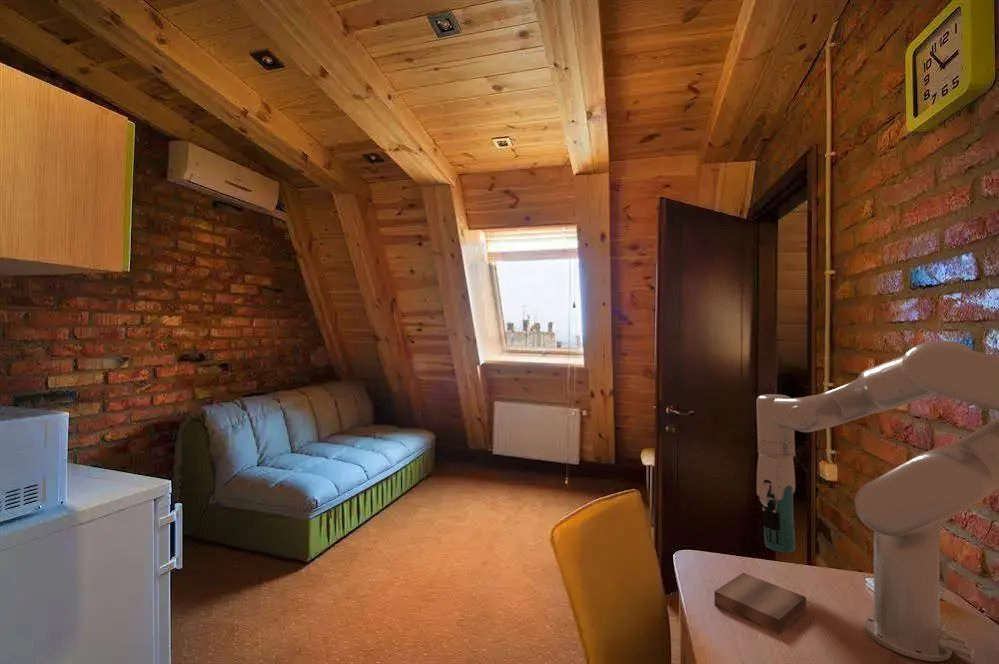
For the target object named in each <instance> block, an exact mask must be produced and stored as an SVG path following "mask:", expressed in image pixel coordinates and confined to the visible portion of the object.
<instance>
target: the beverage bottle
mask: <svg viewBox="0 0 999 664" xmlns="http://www.w3.org/2000/svg"><path fill="white" fill-rule="evenodd" d="M769 497H771V498H774V497H775V495H771V494H770V495H769ZM769 502H771V503H772V505H774V501H770V500H769ZM794 511H795V510H794V493H793V488H792V486H790V485H789V486H787V487H786V488H785V490H784V495H783V499H781V500H779V504H778V511H777V512H778V513H779V518H780V530H779V531H776V530H772V529H769V528H765V527H764V523H763V524H762V526H763V527H762V528H763V540H764V546H765V547H766V548H768V549H770V550H772V551H774V552H779V553H785V554H786V553H793V552H795V550H796V532H795V531H796V528H795V525H796V524H795V523H796V522H795V515H794ZM762 512H764V510H763V509H762Z"/></svg>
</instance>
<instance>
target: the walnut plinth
mask: <svg viewBox="0 0 999 664" xmlns="http://www.w3.org/2000/svg"><path fill="white" fill-rule="evenodd" d="M714 606H716V607H718V608H720V609H722V610H724V611H726V612H729V613H731V614H734V615H735V616H737V617H740V618H742V619H744V620H746V621H748V622H750V623H752V624H754V625H757V626H759V627H761V628H763V629H765V630H767V631H770V632H771V633H773V634H776V635H778V636H781V634H782V633H784V631H785V630H787V629H788V628H789V627H790V626H791V625H792V624H793V623H794V622H795V621H797V620H798V619H799V618H800V617H801V616H802V615H803V614H805V613H806V611H807V597H806V596H804V595H801V594H799V593H797V592H794V591H791V590H790V589H786V588H784V587H782V586H779V585H776V584H773V583H771V582H768V581H766V580H764V579H761V578H758V577H756V576H753V575H751V574H747V573H745V572H742V573H740V574H739V575H737V576H736V577H734V578H732V579H731V580H730V581H728V582H727V583H725V584H723V585H722V586H720V587H719V588H717V589H716V590H714Z"/></svg>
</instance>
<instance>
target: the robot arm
mask: <svg viewBox="0 0 999 664" xmlns="http://www.w3.org/2000/svg"><path fill="white" fill-rule="evenodd" d="M936 395H939V396H943V397H946V398H948V399H949V398H950V399H954V400H957V401H960V402H964V403H968V404H972V405H975V406H979V407H982V408H985V409H989V410H991V411H997V412H999V355H995V354H994V355H993V354H990V353H985V352H982V351H976V350H973V349H972V348H970V347H969V346H967V345H965V344H964V343H961V342H957V341H953V340H940V341H939V340H937V341H936V340H935V341H927V342H922V343H920V344H916V345H914V346H913V347H911V348H910V349H909V350H907V352H906V353H905V354H903V355H901V356H899V357H897V358H896V357H895V358H894V359H891V360H889V361H886V362H883V363H880V364H877V365H875V366H873V367H870V368H867V369H865V370H863V371H862V372H861V373H860V374H859V376H858V378H856V379H855V380H853V381H850V382H849V383H846V384H844V385H842V386H839V387H836V388H834V389H831V390H828V391H826V392H822V393H820V394H814V395H807V396H803V397H793V398H792V397H790V396H788V395H786V394H785V395H784V394H775V393H773V394H770V393H769V394H760V395H759V396H758V397H756V403H755V404H756V405H755V406H756V428H757V430H756V431H757V432H756V433H757V453H758V459H757V467H756V494H757V496H758V497H759V501H760V503H761V506H762V511H763V510H764V511H763V524H764V525H763V526H764V527H765V528H769V529H772V530H776V531H779V530H780V518H779V513H778V512H777V511H778V504H779V500H781V499H783V495H784V490H785V488H786V487H787V486H789V485H790V486H792V488H793V494H794V493H795V492H796V475H795V471H796V470H795V464H794V457H795V456H796V447H795V446H796V443H795V442H796V441H795V439H796V438H795V431H797V432H801V433H811V432H816V431H820V430H824V429H829V428H833V427H836V426H839V425H842V424H845V423H849V422H851V421H854V420H855V421H856V420H858V419H860V418H863V417H866V416H867V417H868V416H870V415H873V414H876V413H881V412H882V413H883V412H887V411H889V410H893V409H894V410H895V409H896V408H900V407H902V406H906V405H909V404H912V403H915V402H918V401H922V400H924V399H927V398H931V397H933V396H936ZM998 488H999V417H997V418H995V419H994V420H992V421H990V422H989V423H986V424H984V425H983V426H981V427H979V429H976V430H974V431H973V432H971V433H970V434H968V435H966V436H964V437H962V438H959V439H958V440H956V441H954V442H951V443H948V444H945V445H943V446H938V447H934V448H933V449H929V450H928V451H925V452H921V454H918V455H916V456H914V457H913V458H911V459H910V460H907V461H906V462H903V463H902V464H900V465H898V466H897V467H895V468H893V469H891V470H889V471H888V472H885V473H884V474H882V475H881V476H878V477H876V478H875V479H874V480H873V479H872V480H871V481H869V482H868V483H865V484H864V485H862V487H860V488H859V490H858V491H857V493H856V495H855V498H854V508H855V512H856V514H857V516H858V518H859V519H860V521H861V522H862V523H863V524H864V525H865V526H866V527H868V529H870V530H872V531H873V532H874V535H873V583H874V584H873V587H874V588H873V593H874V594H873V596H874V597H873V601H874V603H873V605H874V613H873V614H874V615H870V616H867V617H866V618H865V620H864V630H865V631H866V633H867V634H868V636H870V638H871V639H873V640H874V641H875V642H877V643H878V644H880V645H881V646H883V647H885V648H887V649H889V650H890V651H893V652H895V653H896V654H897V653H898V654H899V655H902V656H905V657H909V658H912V659H916V660H921V661H926V662H935V663H937V662H944V661H947V660H949V659H950V658H951V657H952V654H953V653H952V652H954V653H957V654H958V655H960V656H963V657H965V658H967V659H969V660H973V659H974V647H972V646H970V645H967V644H968V643H967V639H964V638H961V637H958V636H955V635H952V634H950V633H949V632H948V631H946V623H944V622H942V621H941V618H940V617H941V616H940V615H941V608H940V607H941V606H940V604H941V603H940V602H941V601H940V597H941V596H940V565H941V564H940V563H941V562H940V558H941V557H940V551H941V550H940V547H941V546H940V545H941V544H940V543H941V532H942V525H943V520H945V519H947V518H949V517H952V516H954V515H955V514H959V513H960V512H963V511H965V510H966V509H968V508H970V507H973V506H974V505H976V504H978V503H979V502H980V501H982V500H984V499H986V498H987V497H988V496H989V495H991V494H992V493H993V492H994V491H995V490H997V489H998ZM770 494H771V495H775V497H774V498H771V497H769V495H770ZM769 500H770V501H774V505H772V503H771V502H769Z"/></svg>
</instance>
